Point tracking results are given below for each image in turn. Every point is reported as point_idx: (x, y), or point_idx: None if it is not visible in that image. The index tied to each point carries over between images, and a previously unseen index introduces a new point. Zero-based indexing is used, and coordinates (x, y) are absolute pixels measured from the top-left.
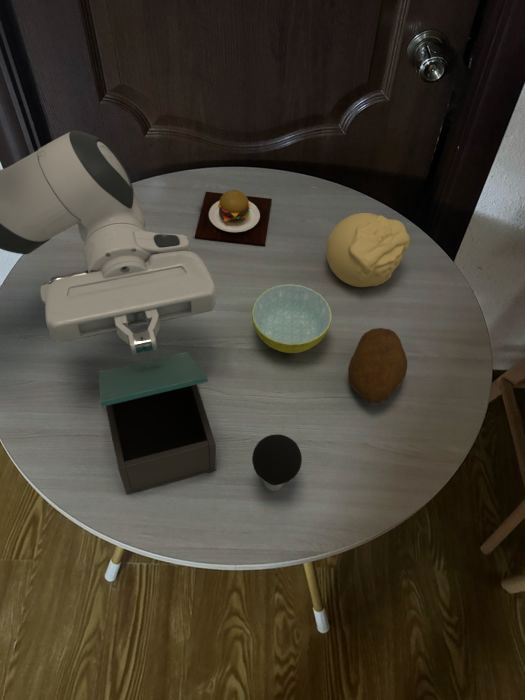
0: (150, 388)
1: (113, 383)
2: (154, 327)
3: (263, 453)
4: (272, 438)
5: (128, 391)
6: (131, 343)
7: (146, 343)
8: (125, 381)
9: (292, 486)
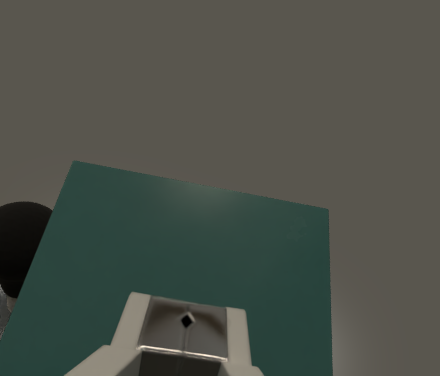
0: (212, 198)
1: (291, 363)
2: (92, 354)
3: (46, 218)
4: (10, 223)
5: (262, 227)
6: (240, 316)
7: (174, 300)
8: (255, 348)
9: (5, 299)
